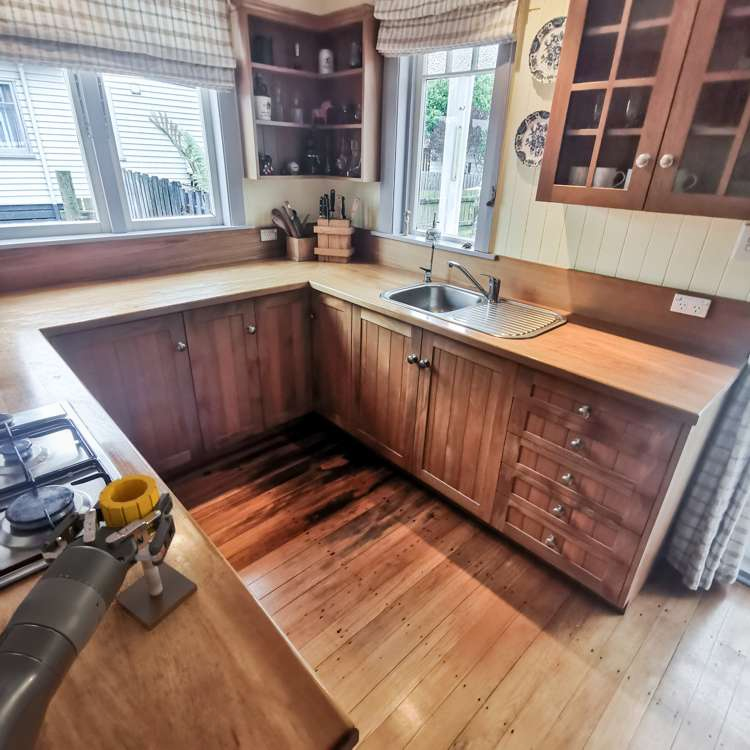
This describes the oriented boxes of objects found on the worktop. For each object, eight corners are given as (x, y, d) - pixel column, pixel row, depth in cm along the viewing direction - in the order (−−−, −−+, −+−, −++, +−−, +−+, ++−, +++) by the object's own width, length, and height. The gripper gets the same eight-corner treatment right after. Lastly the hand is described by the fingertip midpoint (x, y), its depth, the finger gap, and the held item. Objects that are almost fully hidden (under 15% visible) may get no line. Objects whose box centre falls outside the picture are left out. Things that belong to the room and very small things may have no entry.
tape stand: (115, 603, 67) (94, 535, 61) (164, 565, 73) (148, 501, 67) (149, 631, 63) (130, 563, 58) (198, 589, 70) (184, 523, 64)
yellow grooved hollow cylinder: (104, 547, 62) (88, 494, 58) (148, 518, 67) (136, 468, 64) (133, 569, 59) (118, 515, 55) (177, 537, 64) (167, 486, 60)
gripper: (129, 581, 46) (189, 475, 61) (-16, 578, 46) (80, 472, 61) (143, 630, 50) (197, 518, 65) (8, 627, 49) (93, 516, 64)
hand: (140, 496), depth 63 cm, fingers closed on yellow grooved hollow cylinder, 6 cm apart
